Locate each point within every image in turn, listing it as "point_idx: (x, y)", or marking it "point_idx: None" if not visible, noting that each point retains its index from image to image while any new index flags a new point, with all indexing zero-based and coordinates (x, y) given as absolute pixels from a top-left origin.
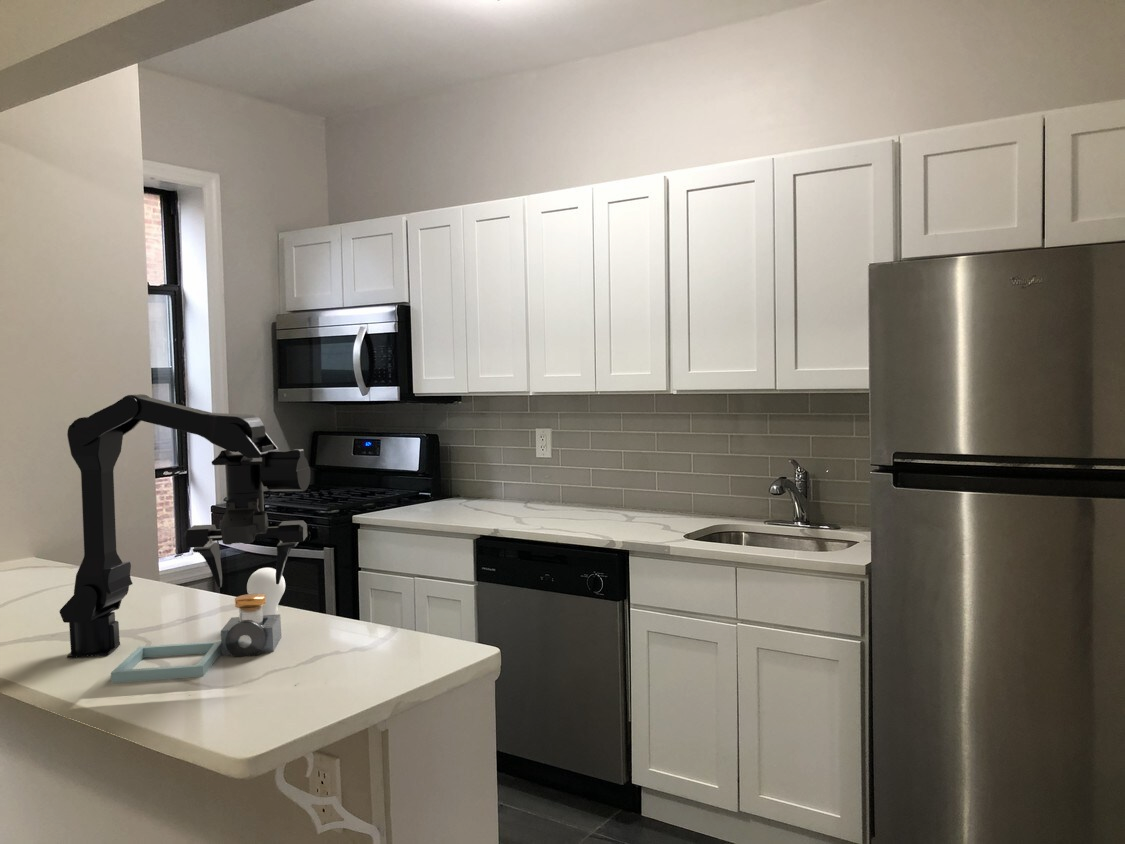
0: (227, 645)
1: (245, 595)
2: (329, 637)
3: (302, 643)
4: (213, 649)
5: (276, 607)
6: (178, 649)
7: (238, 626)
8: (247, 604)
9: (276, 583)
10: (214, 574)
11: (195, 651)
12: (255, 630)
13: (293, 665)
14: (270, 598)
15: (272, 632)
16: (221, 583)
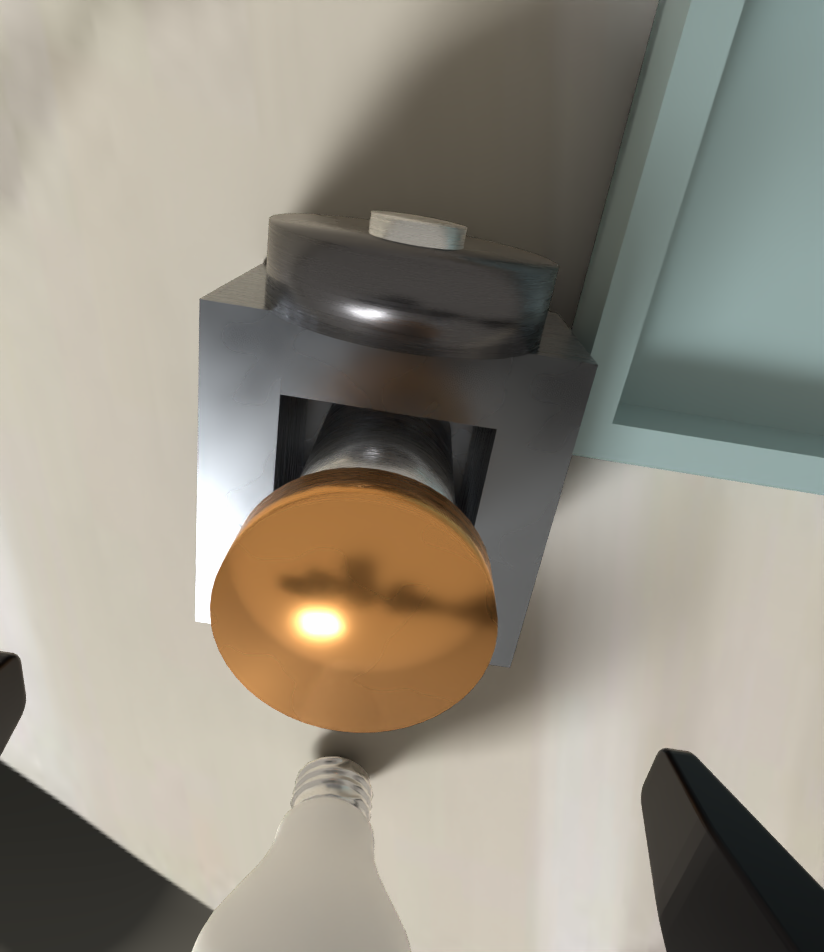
0: (540, 258)
1: (400, 702)
2: (9, 527)
3: (136, 479)
4: (631, 270)
5: (273, 842)
6: (817, 448)
7: (462, 263)
8: (374, 482)
9: (7, 654)
10: (814, 904)
11: (713, 425)
12: (324, 233)
13: (111, 26)
14: (281, 872)
15: (213, 292)
16: (654, 813)
